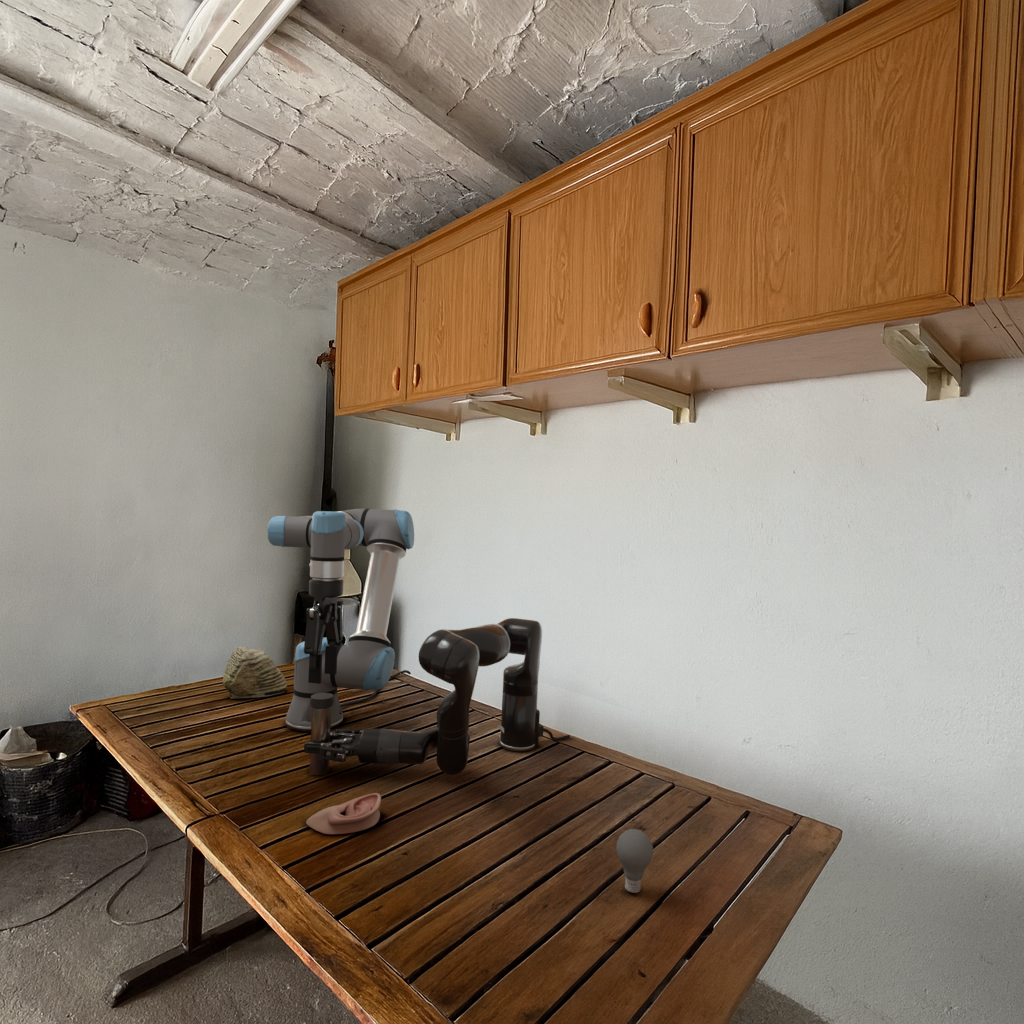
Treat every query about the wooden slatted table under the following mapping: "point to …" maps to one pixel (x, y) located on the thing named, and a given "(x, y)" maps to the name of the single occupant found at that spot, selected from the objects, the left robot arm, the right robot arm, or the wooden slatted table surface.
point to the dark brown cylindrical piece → (320, 739)
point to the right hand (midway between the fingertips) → (309, 742)
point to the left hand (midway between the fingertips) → (322, 677)
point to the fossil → (252, 674)
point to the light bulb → (634, 857)
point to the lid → (321, 700)
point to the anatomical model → (347, 816)
